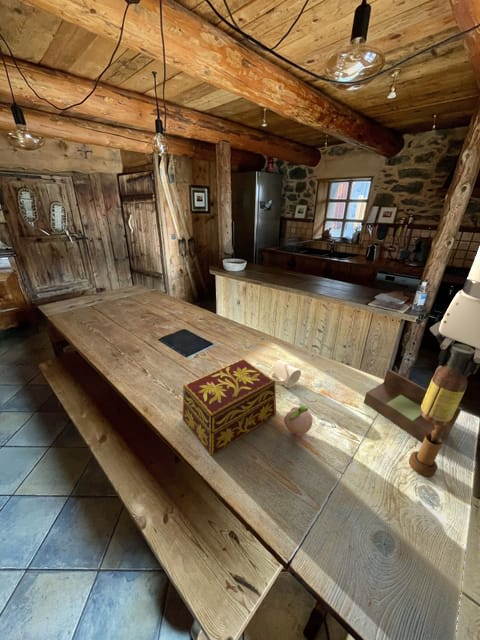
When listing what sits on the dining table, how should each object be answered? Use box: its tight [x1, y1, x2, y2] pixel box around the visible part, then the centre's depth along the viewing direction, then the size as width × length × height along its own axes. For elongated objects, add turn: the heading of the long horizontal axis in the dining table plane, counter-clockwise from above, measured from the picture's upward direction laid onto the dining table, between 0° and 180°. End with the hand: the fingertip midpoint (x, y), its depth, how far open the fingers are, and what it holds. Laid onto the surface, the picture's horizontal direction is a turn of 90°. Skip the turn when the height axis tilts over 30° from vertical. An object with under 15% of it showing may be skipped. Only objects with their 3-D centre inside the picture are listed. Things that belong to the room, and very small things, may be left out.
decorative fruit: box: [283, 405, 313, 435], centre depth 86 cm, size 9×8×10 cm
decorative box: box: [181, 358, 277, 457], centre depth 90 cm, size 28×19×15 cm
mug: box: [269, 359, 302, 389], centre depth 109 cm, size 12×9×8 cm
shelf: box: [363, 368, 463, 444], centre depth 92 cm, size 24×12×11 cm, turn 32°
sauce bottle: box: [420, 343, 475, 426], centre depth 61 cm, size 7×6×20 cm
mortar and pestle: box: [408, 424, 449, 478], centre depth 73 cm, size 7×6×18 cm
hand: (455, 368), depth 59 cm, fingers closed on sauce bottle, 4 cm apart
